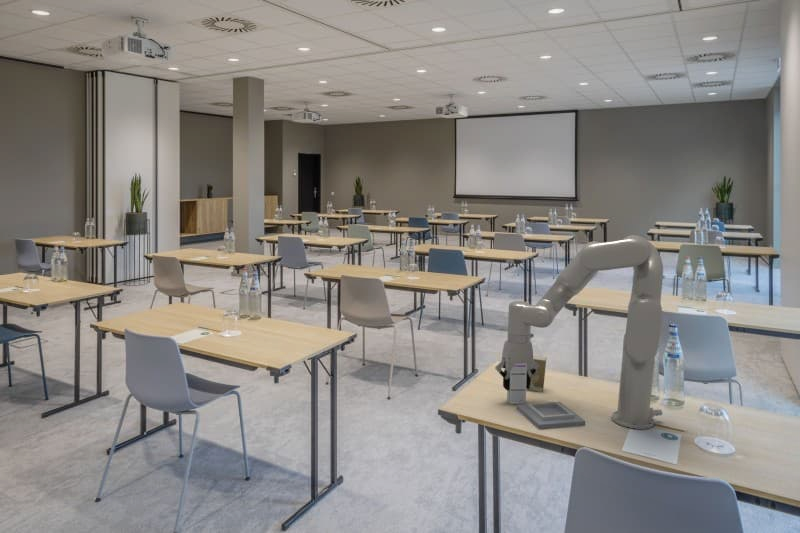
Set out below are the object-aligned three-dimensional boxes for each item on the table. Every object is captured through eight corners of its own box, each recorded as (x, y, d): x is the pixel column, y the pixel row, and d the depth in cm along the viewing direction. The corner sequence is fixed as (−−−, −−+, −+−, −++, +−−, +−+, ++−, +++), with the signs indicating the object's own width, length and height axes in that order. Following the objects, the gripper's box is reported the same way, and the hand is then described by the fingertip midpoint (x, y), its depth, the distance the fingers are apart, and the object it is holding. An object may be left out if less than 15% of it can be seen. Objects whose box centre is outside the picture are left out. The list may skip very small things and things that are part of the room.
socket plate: (559, 405, 199) (560, 398, 199) (585, 425, 184) (585, 417, 183) (516, 409, 195) (516, 401, 195) (538, 429, 180) (539, 421, 179)
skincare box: (525, 390, 213) (527, 357, 211) (526, 386, 217) (528, 354, 215) (543, 392, 211) (545, 360, 209) (544, 388, 215) (546, 356, 213)
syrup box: (526, 404, 198) (528, 363, 196) (508, 404, 198) (510, 362, 196) (523, 398, 204) (524, 358, 202) (506, 398, 204) (507, 357, 202)
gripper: (536, 333, 204) (534, 382, 206) (490, 336, 199) (488, 386, 202) (547, 339, 196) (544, 390, 199) (499, 342, 192) (497, 394, 195)
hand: (516, 387), depth 200 cm, fingers closed on syrup box, 6 cm apart
